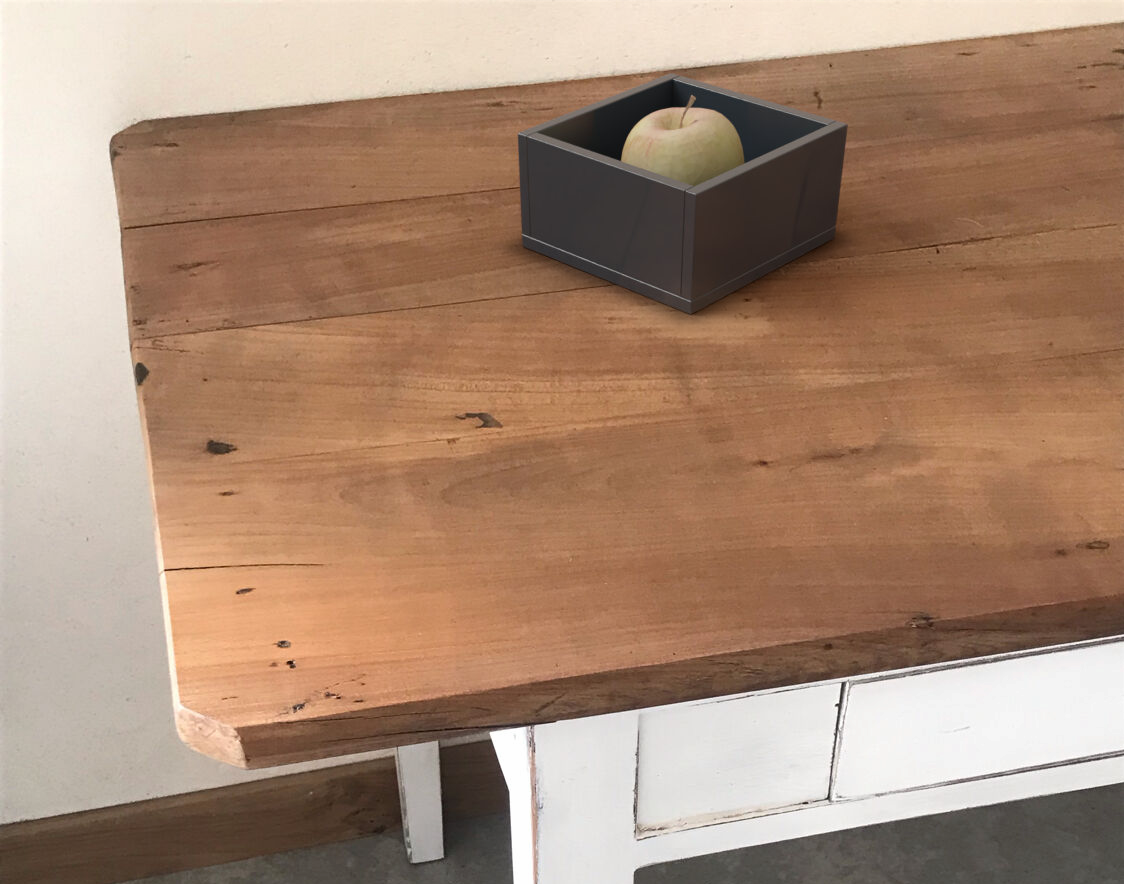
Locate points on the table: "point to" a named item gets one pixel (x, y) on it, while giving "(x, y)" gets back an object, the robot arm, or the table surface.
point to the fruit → (684, 144)
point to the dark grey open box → (680, 195)
